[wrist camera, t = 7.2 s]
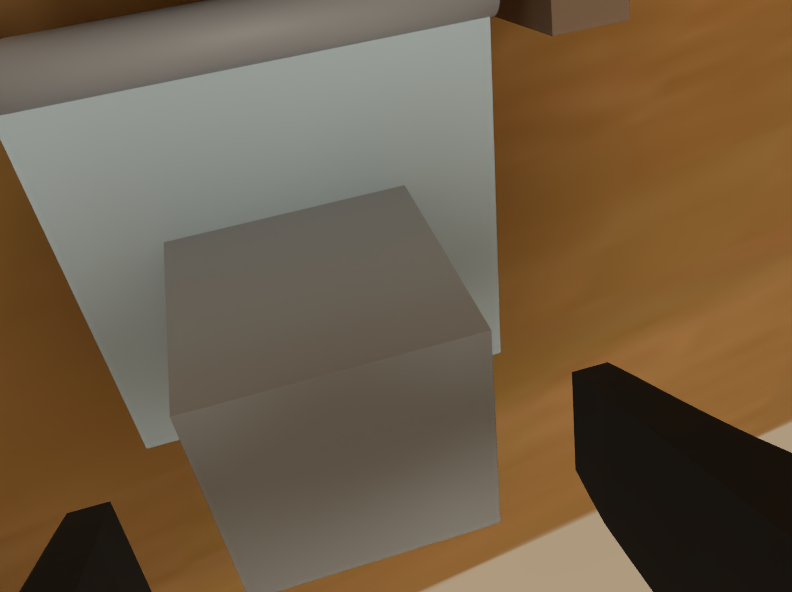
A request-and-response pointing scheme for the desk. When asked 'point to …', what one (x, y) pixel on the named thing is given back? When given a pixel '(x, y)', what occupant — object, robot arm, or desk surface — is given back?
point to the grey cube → (330, 387)
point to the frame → (563, 14)
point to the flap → (243, 144)
